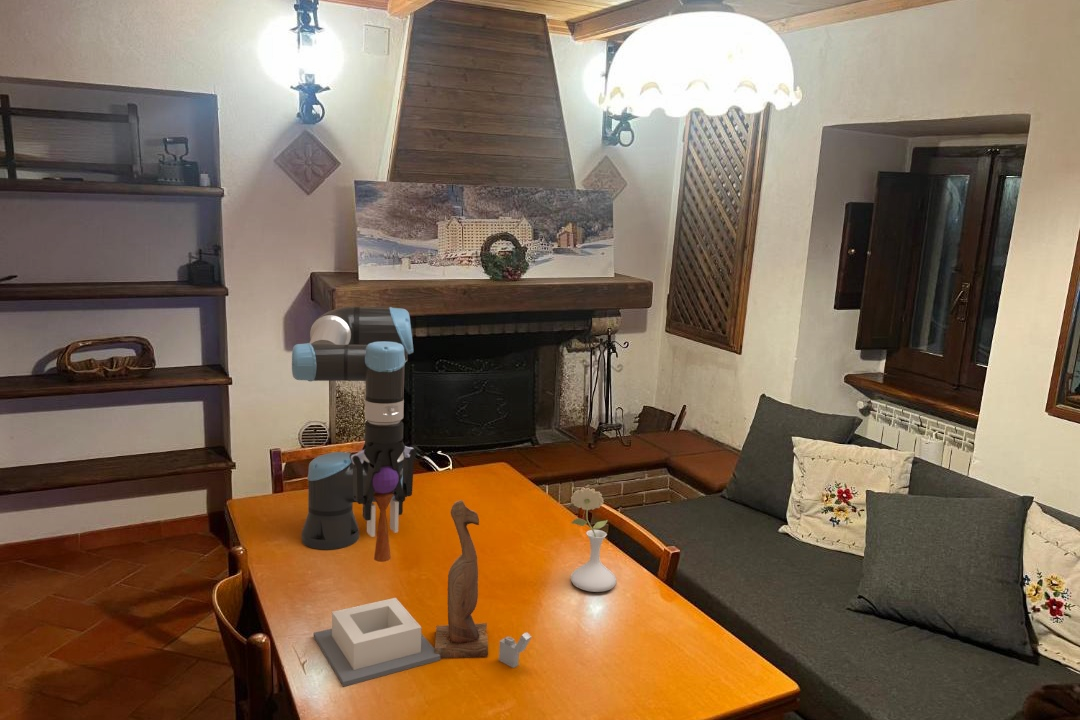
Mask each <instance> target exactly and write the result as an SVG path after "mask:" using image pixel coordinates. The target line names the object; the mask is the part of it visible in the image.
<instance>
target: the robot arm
mask: <svg viewBox="0 0 1080 720" xmlns="http://www.w3.org/2000/svg"><path fill="white" fill-rule="evenodd" d="M309 334H310V335H309V338H310V341H309V342H305V343H297V344H295V345H294V346H293V348H292V350H291V351H292V353H291V373H292V377H293V379H294V380H297V381H305V382H306V381H308V382H318V381H319V382H322V381H323V382H329V381H330V382H331V381H333V382H337V381H338V382H340V381H341V382H342V381H346V382H365V384H364V385H365V389H364V390H365V396H364V419H365V420H366V421H365V422H364V445H363V446H362V449H361V450H360V451H359V452H357V453H353V452H352V453H350V452H345V451H335V452H328V453H325V454H322V455H319V456H316V457H315V458H314V459H312V460H311V461H310V462H309V464H308V471H307V472H308V474H307V480H308V483H307V484H308V486H307V487H308V490H307V491H308V495H307V497H308V501H307V502H308V503H307V506H308V507H307V508H308V510H307V511H308V513H307V515H306V519H305V521H304V523H303V527H302V530H301V542H302V544H303V545H304V546H306V547H308V548H311V549H315V550H324V551H325V550H327V551H328V550H338V549H343V548H347V547H349V546H352V545H354V544H356V542H357V541H358V540H359V539H360V528H359V525H358V522H357V519H356V516H355V513H354V509H353V508H354V507H353V505H354V503H357V504H358V505H362V517H363V519H364V521H366V533H367V535H369V536H370V537H371V538H372V537H373V538H374V537H376V507H377V504H375V503H376V501H375V498H374V492H375V489H374V487H373V477H374V475H375V473H379V472H380V469H381V467H384V466H392V468H393V470H396V471H397V473H398V475H399V479H398V483H397V486H396V488H395V489H394V490H392V491H391V492H393V493H394V495H393V497H392V499H391V501H390V503H389V529H390V530H391V531H392V532H393V533H394V534H395V533H399V519H400V518H399V516H401V515H403V512H404V511H403V507H404V502H405V501H406V498H407V497H411V496H412V495H413V484H414V483H413V482H414V481H413V480H414V462H415V459H416V455H417V454H418V450H417V449H415V448H414V447H412V446H406V445H405V443H404V422H403V419H404V408H405V407H404V405H405V404H404V403H405V399H404V396H405V395H404V393H405V392H404V389H405V388H404V387H405V364H406V362H408V359H409V358H408V356H409V355H411V354H413V353H414V344H413V334H412V325H411V317H410V313H409V311H408V310H407V309H405V308H399V307H392V306H385V307H384V306H343V307H338V308H336V309H333V310H332V309H331V310H329V311H327V312H325V313H324V314H322V315H320V316H318V318H316V320H314V321H313V323H312V326H311V328H310V332H309Z"/></svg>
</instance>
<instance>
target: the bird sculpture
mask: <svg viewBox="0 0 1080 720" xmlns="http://www.w3.org/2000/svg"><path fill="white" fill-rule="evenodd" d="M450 516H451V518H452V521H453V522H454V526H455V529H456V533H457V535H458V538H459V539H458V540H459V543H460V547H461V555H459V556H458V557H457V558H456V559H455V560H454V561H453V563H452V565H451V566H450V569H449V570H448V575H447V625H445V624H444V625H436V627H435V628H436V629H435V637H434V638H435V642H434V649H435V654H439V655H440V660H442V659H443V660H445V659H447V660H449V659H468V658H469V659H474V658H488V656H489V651H488V650H489V643H488V632H486V631H488V630H487V628H488V622H483V623H482V622H480V623H479V622H478V623H475V621H474V618H473V616H472V614H473V613H474V611H475V609H476V607H477V604H478V599H479V598H478V597H479V591H478V589H479V588H478V587H479V583H478V582H479V566H478V556H477V552H476V547H475V545H474V541H473V539H472V536H471V535H470V534H471V533H470V532H469V529H468V527H467V526H468V525H471V524H473V525H477V526H480V520H479V515H478V513H477V512H476V511H474V510H471V509H470V508H469V507H467V506H466V504H465V502H464V501H463V500H461V499H460V500H458V501H455V502H454V504H453V505H451V508H450Z"/></svg>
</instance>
